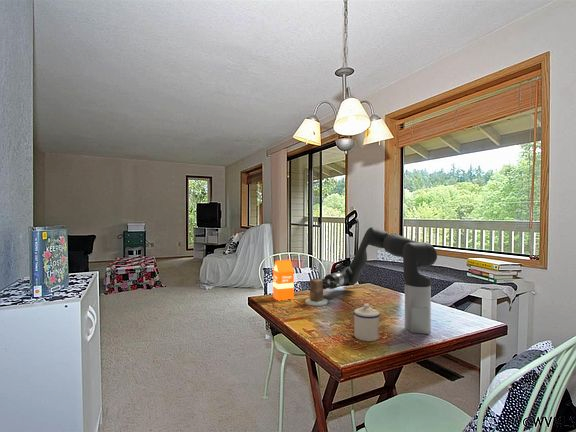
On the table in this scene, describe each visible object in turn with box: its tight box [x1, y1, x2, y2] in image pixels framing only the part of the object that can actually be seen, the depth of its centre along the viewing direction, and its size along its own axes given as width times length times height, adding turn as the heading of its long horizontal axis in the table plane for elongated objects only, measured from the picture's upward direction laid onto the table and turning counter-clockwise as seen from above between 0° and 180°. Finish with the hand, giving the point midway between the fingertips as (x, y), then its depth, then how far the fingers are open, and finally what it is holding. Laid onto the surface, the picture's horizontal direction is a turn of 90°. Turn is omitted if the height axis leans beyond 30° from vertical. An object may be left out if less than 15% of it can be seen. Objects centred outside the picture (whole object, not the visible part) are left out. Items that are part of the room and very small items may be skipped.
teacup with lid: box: [353, 303, 381, 342], centre depth 114 cm, size 12×9×12 cm
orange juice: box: [272, 259, 295, 302], centre depth 165 cm, size 8×9×20 cm
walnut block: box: [309, 278, 324, 302], centre depth 156 cm, size 4×4×10 cm
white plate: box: [305, 297, 329, 307], centre depth 156 cm, size 11×11×1 cm
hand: (316, 285), depth 156 cm, fingers open, 8 cm apart
